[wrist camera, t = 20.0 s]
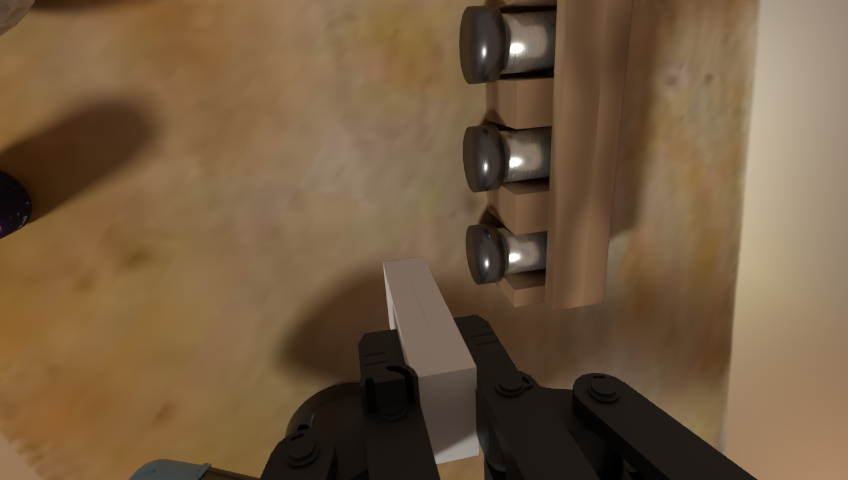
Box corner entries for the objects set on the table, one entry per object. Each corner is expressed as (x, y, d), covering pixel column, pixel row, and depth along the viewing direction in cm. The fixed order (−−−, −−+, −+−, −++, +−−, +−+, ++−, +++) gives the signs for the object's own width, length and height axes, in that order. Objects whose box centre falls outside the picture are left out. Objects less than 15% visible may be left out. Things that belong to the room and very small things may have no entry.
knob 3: (466, 269, 45) (483, 295, 40) (465, 218, 43) (482, 237, 37) (547, 258, 46) (574, 281, 41) (549, 207, 44) (577, 225, 39)
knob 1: (460, 83, 38) (480, 85, 33) (458, 11, 36) (478, 1, 31) (554, 76, 39) (588, 76, 34) (557, 6, 37) (593, -5, 32)
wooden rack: (488, 273, 47) (520, 316, 39) (485, -10, 37) (527, -34, 29) (557, 263, 49) (603, 302, 40) (571, -14, 39) (636, -38, 30)
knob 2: (463, 184, 41) (482, 199, 36) (461, 123, 39) (481, 131, 34) (550, 174, 43) (580, 188, 38) (553, 115, 41) (585, 121, 36)
